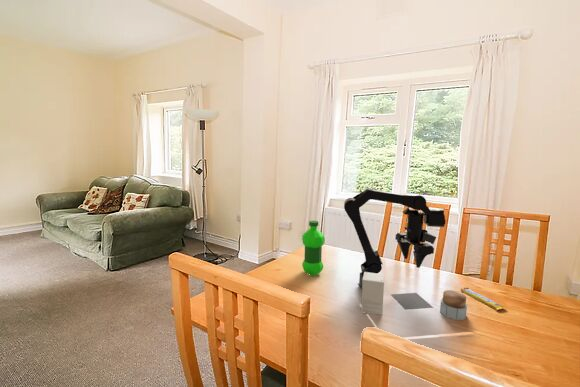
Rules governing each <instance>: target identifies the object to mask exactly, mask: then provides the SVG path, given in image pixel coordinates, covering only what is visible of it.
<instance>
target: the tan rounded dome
mask: <svg viewBox="0 0 580 387" xmlns="http://www.w3.org/2000/svg"><path fill="white" fill-rule="evenodd" d="M442 298H443V302H444V303H445V304H446V305H448V306H450V307H453V308H464V307H465V306H466V304H467V296H466V295H465V293H463V292H461V291H460V292H459V291H456V290H452V289H451V290H450V289H446V290H444V291H443V292H442Z"/></svg>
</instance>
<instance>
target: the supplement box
mask: <svg viewBox="0 0 580 387" xmlns="http://www.w3.org/2000/svg"><path fill="white" fill-rule="evenodd" d="M384 289H385V274H384V273H369V272H364V275H363V279H362V289H361V313H363V314H374V315H381V316H382V315H383V310H384V309H383V308H384V292H385V290H384Z"/></svg>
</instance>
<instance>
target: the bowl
mask: <svg viewBox="0 0 580 387" xmlns="http://www.w3.org/2000/svg"><path fill="white" fill-rule="evenodd" d="M439 305H440V307H439V312H440V314H442V315H443V316H445V317H446V318H448V319H451V320H454V321H456V320H457V321H464V320H466V318H467V314H468V313H467V311H468V304H467V303H466V306H465V307H464V308H453V307H450V306H448V305H446V304H445V303H444V302H443V297H441V300H440V304H439Z"/></svg>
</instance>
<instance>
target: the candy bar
mask: <svg viewBox="0 0 580 387" xmlns="http://www.w3.org/2000/svg"><path fill="white" fill-rule="evenodd" d="M460 292H461V293H463V294H464V295H465V294H466V295H467V296H469V297H471V298H473V299H475V300H476V301H478V302H480V303H482V304H484V305H486V306H488V307H489V308H492V309H493V310H496V311H498V310H503V309H504V310H506V309H508V308H506V307H504V306H503V305H502V304H499V303H498V302H495V301H494V300H491V299H490V298H487V297H486V296H484V295H482V294H480V293H478V292H476V291H473V290H471V289H470V288H469V287H463V288H460Z"/></svg>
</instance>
